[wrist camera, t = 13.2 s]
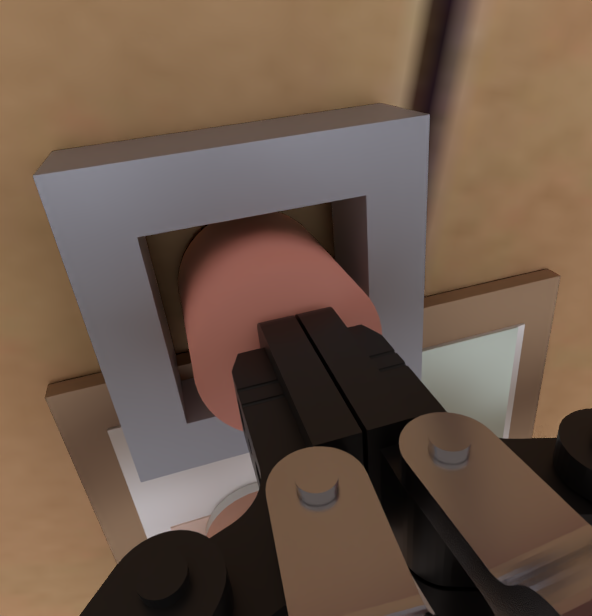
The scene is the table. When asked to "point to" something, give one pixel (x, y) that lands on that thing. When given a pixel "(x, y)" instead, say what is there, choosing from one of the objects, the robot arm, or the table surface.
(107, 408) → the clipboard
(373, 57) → the table surface
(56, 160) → the button housing
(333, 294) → the button
